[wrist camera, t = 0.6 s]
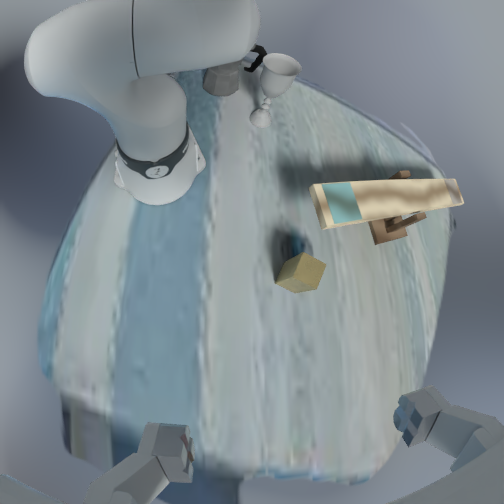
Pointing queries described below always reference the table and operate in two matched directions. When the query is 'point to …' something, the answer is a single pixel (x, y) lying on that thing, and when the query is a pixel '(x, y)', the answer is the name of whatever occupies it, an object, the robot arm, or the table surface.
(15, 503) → the robot arm
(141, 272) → the table surface
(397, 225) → the beam stand
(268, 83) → the chalice
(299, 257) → the tall olive textured block
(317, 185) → the balance beam
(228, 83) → the coffeepot
